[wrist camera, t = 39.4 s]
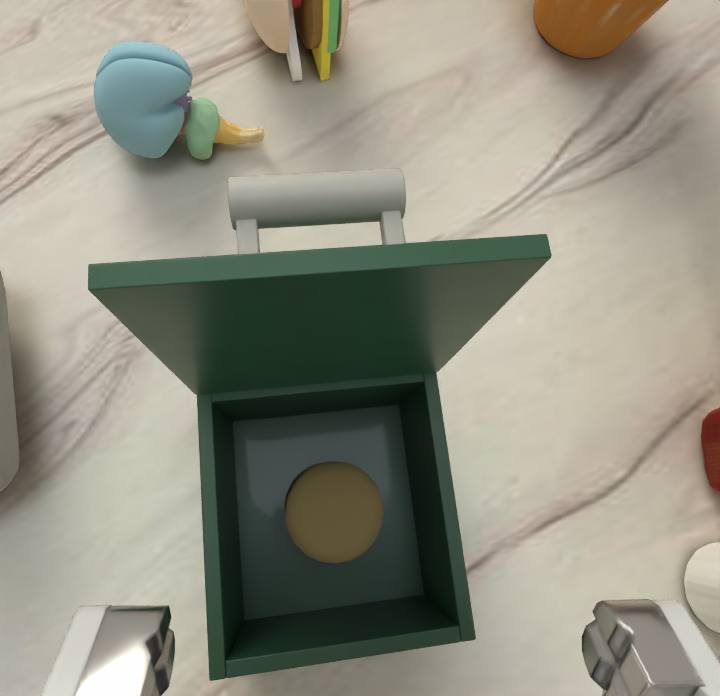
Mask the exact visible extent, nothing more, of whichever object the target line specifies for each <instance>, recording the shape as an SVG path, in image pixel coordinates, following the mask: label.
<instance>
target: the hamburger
mask: <svg viewBox="0 0 720 696" xmlns="http://www.w3.org/2000/svg"><path fill="white" fill-rule="evenodd" d="M243 2H244V5H245V8H246V11H247V13H248V16H249V18H250V20H251V22H252V24H253V26H254V28H255V30H256V32H257V33H258V35H259V36H260V38H261V39H262V40H263V42H264V43H265V44H266V45H267V46H268V47H269V48H271V49H272V50H274V51H276V52H279V53H286V54H287V59H288V64H289V68H290V73H291V77H292V80H293V81H299V80H302V68H301V62H300V56H299V49H298V43H297V36H296V29H295V24H296V27H297V30H298V33H299V36H300V39H301V41H302V43H303V45H304V46H305V48H307V49H312V52H313V56H314V59H315V62H316V66H317V69H318V73H319V76H320V79H321V80H328V79H329V75H330V57H331V53H333V52H336V51H337V50H338V49H339V48H340V47H341V45H342V43H343V41H344V38H345V34H346V30H347V24H348V14H349V0H243ZM294 20H295V22H294Z"/></svg>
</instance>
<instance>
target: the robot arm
mask: <svg viewBox="0 0 720 696" xmlns="http://www.w3.org/2000/svg"><path fill="white" fill-rule="evenodd" d="M593 613H594V616H595V618H596V619H595V620H594V621H592V622H591V623H590V624H588V625H587V626H586V627H585V630H584V633H583V635H582V653H583V657H584V661H585V664H586V667H587V670H588V672H589V675H590V677H591V678H592V679H593V680H594V681H595V682H596V683H597V684H598V685H599V686H600V687H601V688H603V694H602V696H720V662H719V660H718V659H717V657H716V656H715V654H714V653H713V651H712V649H711V648H710V646H709V645H708V643H707V641H706V640H705V638H704V637H703V635H702V633H701V632H700V630H699V629H698V627H697V626H696V624H695V622H694V621H693V619H692V618H691V616H690V614H689V613H688V611H687V610H686V608H685V607H684V605H682V604H681V603H680V602H679V601H678V600H672V599H667V600H649V599H639V600H605V601H600V602H599V603H597V604H596V606H595V608H594V610H593ZM170 619H171V614H170V609H169V606H112V605H89V606H80V607H79V609H78V610H77V611H76V613H75V614H74V616H73V618H72V620H71V623H70V625H69V627H68V630H67V632H66V634H65V637H64V639H63V642H62V644H61V646H60V649H59V651H58V654H57V656H56V658H55V661H54V663H53V666H52V668H51V670H50V673H49V675H48V678H47V680H46V682H45V685H44V687H43V690H42V692H41V694H40V696H161V695H162V694H163V693H164V692H165V691H166V690H167V688H168V687H169V684H170V679H171V675H172V670H173V662H174V654H175V639H174V632H173V631H172V630H171V629H169V628H168V627H169V623H170Z"/></svg>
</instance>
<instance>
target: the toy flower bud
mask: <svg viewBox="0 0 720 696" xmlns="http://www.w3.org/2000/svg"><path fill="white" fill-rule="evenodd" d="M191 81H192V73H191V70H190V68H189V66H188V64H187V63H186V61H185V60H184V59H183V58H182V57H181V56H180V55H179V54H178V53H177V52H175V51H173V50H172V49H170V48H167V47H165V46H162V45H158V44H153V43H147V42H138V41H128V42H123V43H120V44H118V45H116V46H114V47H113V48H112V49H110V50H109V51H108V52H107V54H106V55H105V56H104V58H103V60H102V62H101V64H100V66H99V68H98V71H97V74H96V81H95V84H94V99H95V106H96V110H97V114H98V116H99V119H100V121H101V123H102V125H103V126H104V128H105V130H106V131H107V133H108V134H109V135H110V136H111V138H112V139H113V140H114V141H115V142H116V143H117V144H118V145H120V146H121V147H122V148H124V149H126V150H127V151H129V152H131V153H133V154H136V155H139V156H142V157H147V158H159V157H161V156H163V155H164V154H165V153H166V152H167V150H168V149H169V148H170V146H171V145H172V143H173V142H174V140H175V138H176V137H177V135H184V136H186V139H187V145H188V149H189V152H190V154H191V155H192V156H194V157H195V158H197V159H201V160H205V159H208V158H209V157H210V156H211V155H212V147H213V143H224V144H241V143H256V142H260V141H262V140H263V138H264V129H263V128H261V127H260V128H256V129H245V128H240V127H238V126H236V125H233V124H231V123H228V122H227V121H225V120H224V119H223V118H222V117H221V116H220V115H219V114H218V111H217V107H216V105H215V104H214V103H213V102H211V101H210V100H208V99H206V98H198V99H194V100H192V97H191V96H189V97H188V96H187V93H189V92H190V91H189V90H188V89H189V88H190V86H191ZM188 101H190V102H188Z"/></svg>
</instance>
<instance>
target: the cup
mask: <svg viewBox="0 0 720 696" xmlns="http://www.w3.org/2000/svg"><path fill="white" fill-rule="evenodd" d="M684 585H685V591H686V598H687V600H688V602H689V604H690V606H691V608H692V610H693V612H694V614H695V616H696V617H697V618H698V619H699V620H701V621H702V622H703V623H704V624H705V625H706V626H707V627H708V628H709V629H711V630H713V631H716V632H718V633H720V543H710V544H708V545H706V546H704V547H702V548H700V549H698V550H696V552H695V553H694V555H693V556H692V558H691V559H690V560H689V562H688V563H687V568H686V572H685V577H684Z"/></svg>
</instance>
